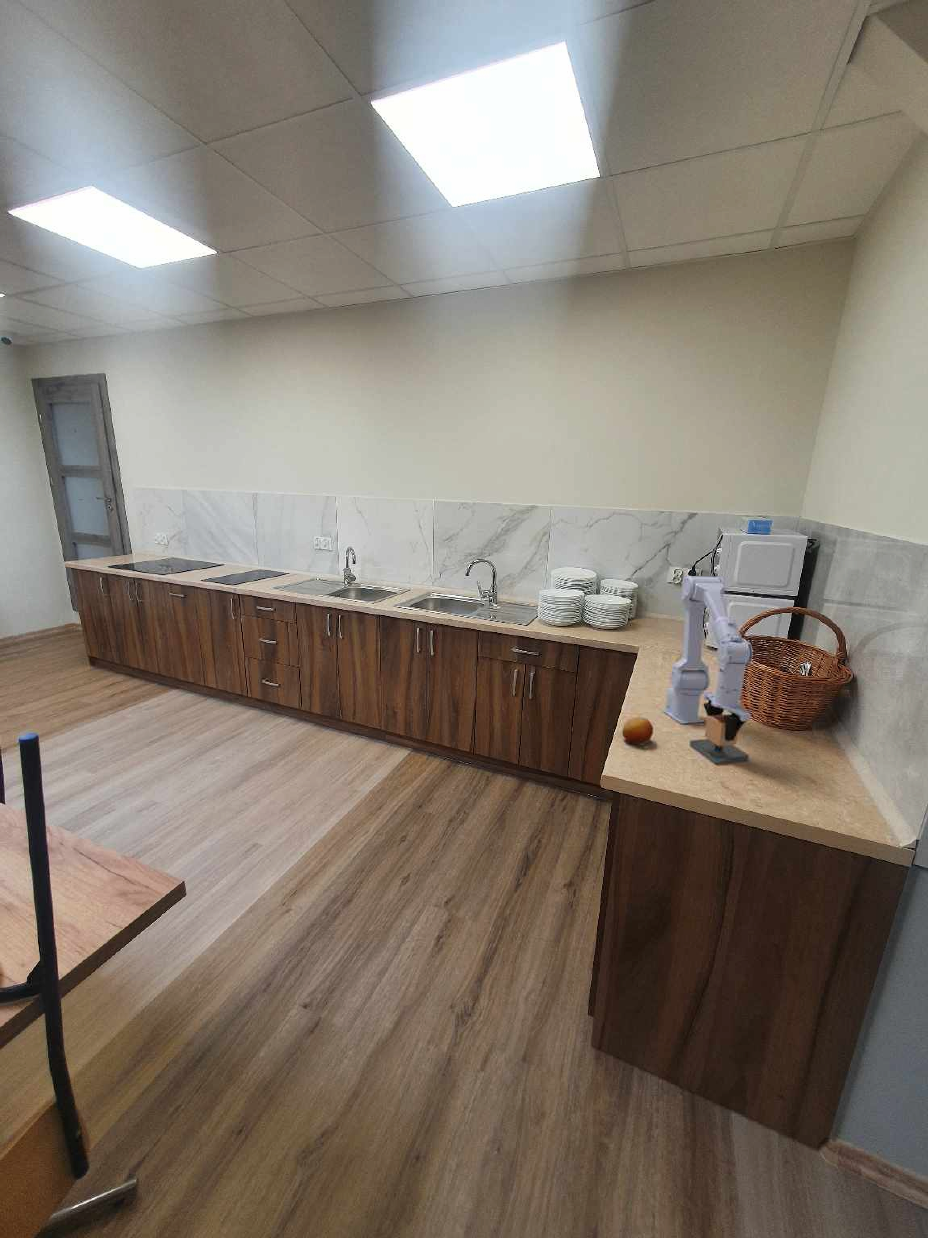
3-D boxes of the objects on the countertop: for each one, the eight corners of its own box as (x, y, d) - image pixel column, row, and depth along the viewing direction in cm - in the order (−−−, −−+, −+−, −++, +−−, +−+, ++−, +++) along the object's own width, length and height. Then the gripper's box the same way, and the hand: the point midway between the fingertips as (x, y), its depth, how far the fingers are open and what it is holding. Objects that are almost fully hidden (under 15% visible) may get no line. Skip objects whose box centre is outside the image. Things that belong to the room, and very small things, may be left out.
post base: (689, 745, 139) (692, 723, 138) (720, 742, 141) (724, 721, 140) (715, 764, 130) (718, 741, 128) (748, 760, 132) (752, 737, 130)
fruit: (652, 748, 134) (640, 720, 135) (626, 753, 139) (614, 726, 140) (663, 738, 140) (651, 710, 141) (637, 743, 145) (626, 717, 146)
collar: (704, 736, 137) (707, 715, 135) (721, 734, 138) (724, 714, 136) (718, 746, 131) (722, 724, 130) (736, 744, 133) (739, 723, 131)
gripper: (697, 677, 137) (690, 723, 140) (736, 698, 123) (728, 749, 127) (719, 676, 138) (712, 721, 142) (761, 696, 125) (751, 746, 128)
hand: (721, 734), depth 134 cm, fingers closed on collar, 5 cm apart
